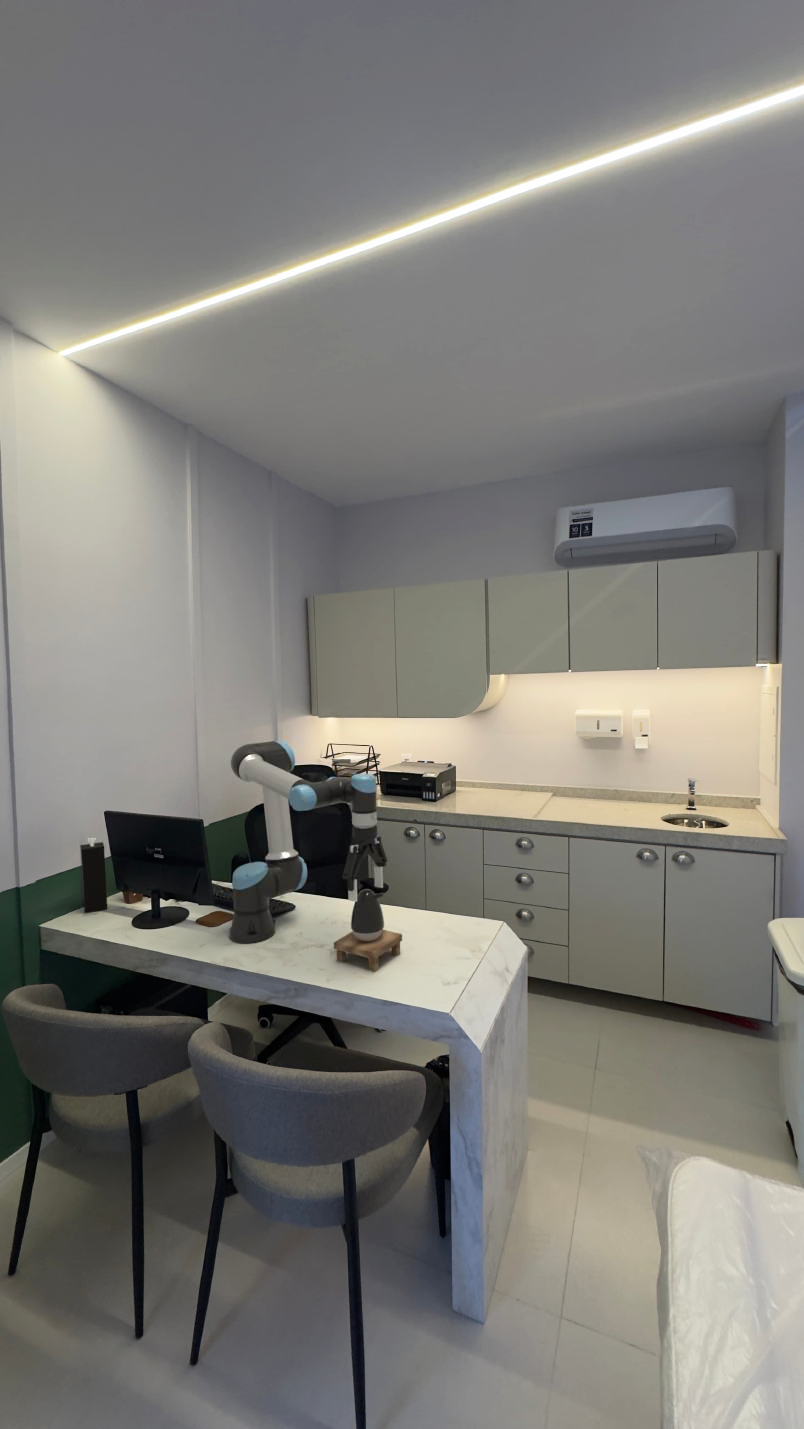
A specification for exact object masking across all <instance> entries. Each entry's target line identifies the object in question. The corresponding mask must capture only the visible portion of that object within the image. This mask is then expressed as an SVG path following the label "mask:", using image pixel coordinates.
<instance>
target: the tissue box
mask: <svg viewBox="0 0 804 1429" xmlns="http://www.w3.org/2000/svg"><path fill="white" fill-rule="evenodd" d="M87 840H88V843H87V844H80V845H79V847H80V859H81V875H82V894H83V898H82V899H83V908H84V909H83V910H84V914H89V913H93V912H100V911H104V910H108V897H107V896H108V894H107V893H108V892H107V876H106V875H107V874H106V859H105V858H106V856H105V845H104V842H103V841H101V842H96V840H97V837H87Z"/></svg>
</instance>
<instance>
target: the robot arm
mask: <svg viewBox="0 0 804 1429" xmlns="http://www.w3.org/2000/svg"><path fill="white" fill-rule="evenodd" d="M295 765H296V757H295V753H294V751H293V749H292V748H291V746H290V745H289V743H287V742H285V741H282V740H275V741H274V740H272V741H265V742H256V743H255V742H254V743H246V744H244V745H241V746H239V747H238V748H236V750H235V751H234V752H233V754H232V757H231V760H230V767H231V770H232V773H233V774H234V775H235V776H236V777H237V778H239V779H241V780H242V781H244V782H246V783H252V782H253V783H255V784H257V785H259V786H261V790H262V799H263V808H264V817H265V827H266V837H267V842H268V843H267V846H268V854H267V855H265V858H264V859H265V862H262V861H254V862H247V863H245V864H243V865H241V866H238V867H237V868H236V869H235V870H234V872H233V874H232V883H231V886H232V897H233V898H232V899H233V917H232V921H231V926H230V928H229V930H228V931H229V939H230V940H231V941H232V942H235V943H238V944H255V943H258V942H259V943H260V942H263V941H266V940H269V938H272V937H273V936H274V935H275V933H276V924H275V922H274V919H273V917H272V912H271V911H270V900H271V899H275V898H277V897H280V896H283V895H286V894H290V893H293V892H295V891H297V890H300V889H301V888H303V887H304V885H305V884H306V881H307V878H308V868H307V864H306V863H305V860H304V859H303V858H302V857H301V856H299V852H298V851H297V850H295V849H294V843H293V842H294V841H293V833H292V825H291V824H292V822H291V814H290V807H292V809H293V810H294V811H297V812H300V811H301V812H302V811H303V812H304V811H310V810H312V809H318V808H323V807H327V806H331V805H335V804H339V803H340V804H341V803H342V804H343V803H344V804H347V805H348V804H349V805H351V817H352V818H351V822H352V823H351V824H352V825H353V826H352V838H353V839H354V841H355V844H354V845H351V844H350V845H348V847H347V848H348V851H347V856H346V860H345V864H344V868H343V873H342V876H341V878H342V879H343V880H347V893H348V894H347V895H348V896H347V897H348V898H347V899H348V901H350V902H354V903H355V902H356V901H357V896H358V880H357V879H356V877H357V874H358V872H359V870H360V867H361V864H362V862H363V860H365V858H367V857H368V856H370V859H371V860H372V861H373V862H374V864H375V865H374V866H373V869H374V870H373V871H374V873H373V874H374V875H373V876H374V888H379V889H380V888H381V889H383V888H384V876H383V875H384V867H386V866H387V863H388V857H387V856H386V852H385V849H384V847H383V844H382V837H381V836H378V826H377V824H378V816H377V812H378V810H377V806H378V804H377V801H378V800H377V793H378V792H377V791H378V787H377V779H376V776H375V775H374V774H371V773H357V774H354V775H352V776H351V779H350V778H345V777H341V776H331V777H329V778H327V779H326V780H323V781H318V782H311V781H308V780H305V779H303V778H301V777H299V776H297V775H295V774H293V773H290V772H292V771H293V770H294V769H295Z"/></svg>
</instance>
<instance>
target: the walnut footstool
mask: <svg viewBox="0 0 804 1429" xmlns="http://www.w3.org/2000/svg"><path fill="white" fill-rule="evenodd" d="M401 942H403V934H402V933H400V932H394V931H390V930H387V929H383V931H382V933H381V935H380V936H379V937H378V938H377V939H375V940H373V941H368V942H366V941H361V940H359V939H357V938H356V937H355V935H354V933H353V931H351V932H349V933H347V934H346V935H343V936H342V937H340V938H338V939H337V940H335V941H333V949H334V950H335V951H336V962H338V963H344V962H346V961H347V953H349V954H352V955H356V956H360V957H363V958H367V959H368V971H371V972H377V971H378V970H379V957H380V956H382V955H383V954H385V953H386V952H388V951H389V950H390V951H391V955H393V956H397V957H398V955H400V954H401Z"/></svg>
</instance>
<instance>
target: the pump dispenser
mask: <svg viewBox="0 0 804 1429" xmlns="http://www.w3.org/2000/svg"><path fill="white" fill-rule="evenodd" d="M381 897H384V892H380V893H375V892H374V891H373V890H372V889H369V888H365V889H362V890H360V891H359V893H357V901H356V902H354V903H353V907H352V912H351V918H350V928H351V930H352V931H353V933H354V935H355V937H356V938H357V939H359V940H361V941H366V942H368V941H373V940H375V939H377V938H378V937H379V936H380V935H381V933H382V931H383V930H384V927H385V919H384V914H383V909H382V907H381V903H380V901H379V899H380V898H381ZM352 931H351V932H352Z"/></svg>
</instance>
